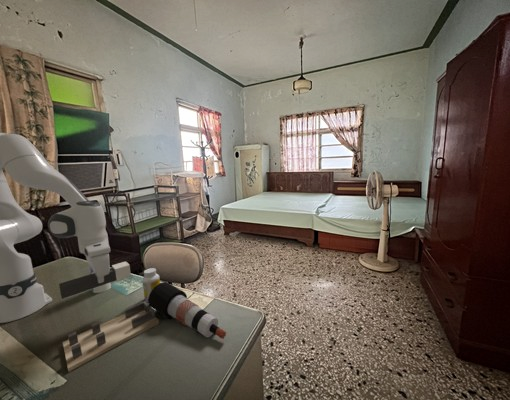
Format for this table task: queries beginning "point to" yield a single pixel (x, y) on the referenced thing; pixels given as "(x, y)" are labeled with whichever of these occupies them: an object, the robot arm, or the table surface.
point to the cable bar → (94, 280)
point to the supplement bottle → (150, 281)
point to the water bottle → (100, 288)
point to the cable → (183, 310)
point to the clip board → (108, 335)
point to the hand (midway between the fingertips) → (99, 279)
